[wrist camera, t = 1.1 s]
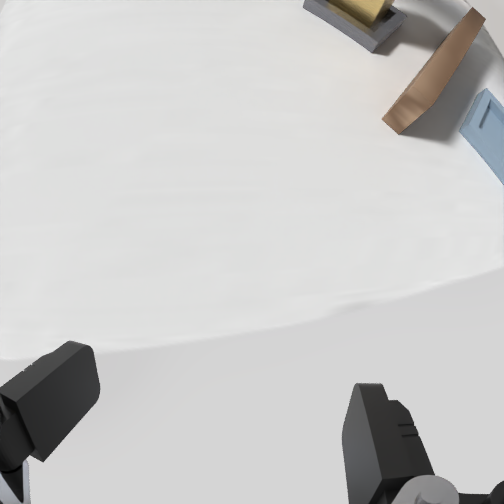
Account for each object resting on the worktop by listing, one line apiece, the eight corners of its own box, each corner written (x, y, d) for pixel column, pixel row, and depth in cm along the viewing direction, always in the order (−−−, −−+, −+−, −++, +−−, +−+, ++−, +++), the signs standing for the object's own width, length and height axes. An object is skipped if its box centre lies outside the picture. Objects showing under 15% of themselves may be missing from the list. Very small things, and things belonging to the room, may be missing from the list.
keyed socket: (458, 131, 25) (468, 124, 23) (477, 94, 26) (486, 87, 24) (508, 190, 25) (518, 187, 23) (522, 148, 26) (531, 144, 24)
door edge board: (381, 119, 25) (412, 86, 19) (449, 33, 26) (472, 6, 20) (398, 134, 25) (433, 104, 19) (461, 44, 26) (485, 19, 20)
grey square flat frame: (302, 7, 25) (305, -4, 23) (339, -16, 26) (343, -26, 24) (371, 52, 25) (378, 42, 23) (400, 25, 26) (407, 16, 24)
